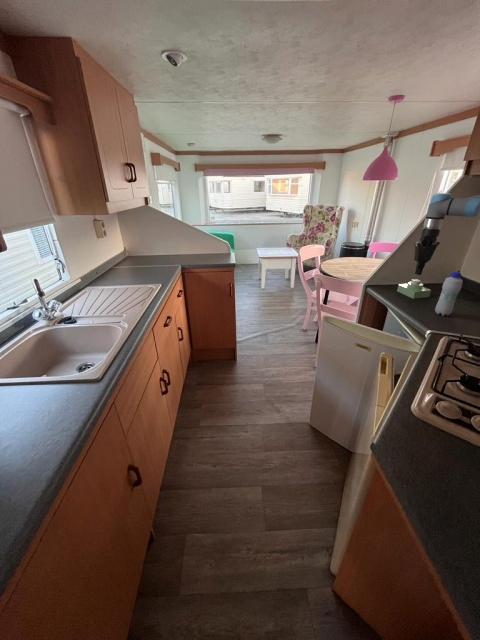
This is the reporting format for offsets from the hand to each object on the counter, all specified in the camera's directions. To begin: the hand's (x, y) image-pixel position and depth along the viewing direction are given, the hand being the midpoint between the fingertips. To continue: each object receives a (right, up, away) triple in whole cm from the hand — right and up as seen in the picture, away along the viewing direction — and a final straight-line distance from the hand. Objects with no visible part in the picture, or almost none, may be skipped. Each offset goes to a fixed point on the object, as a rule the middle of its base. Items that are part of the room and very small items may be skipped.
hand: (417, 274), depth 141 cm
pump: (0, -5, +2) cm, 6 cm away
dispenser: (0, -10, +5) cm, 11 cm away
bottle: (-1, -22, -18) cm, 28 cm away
